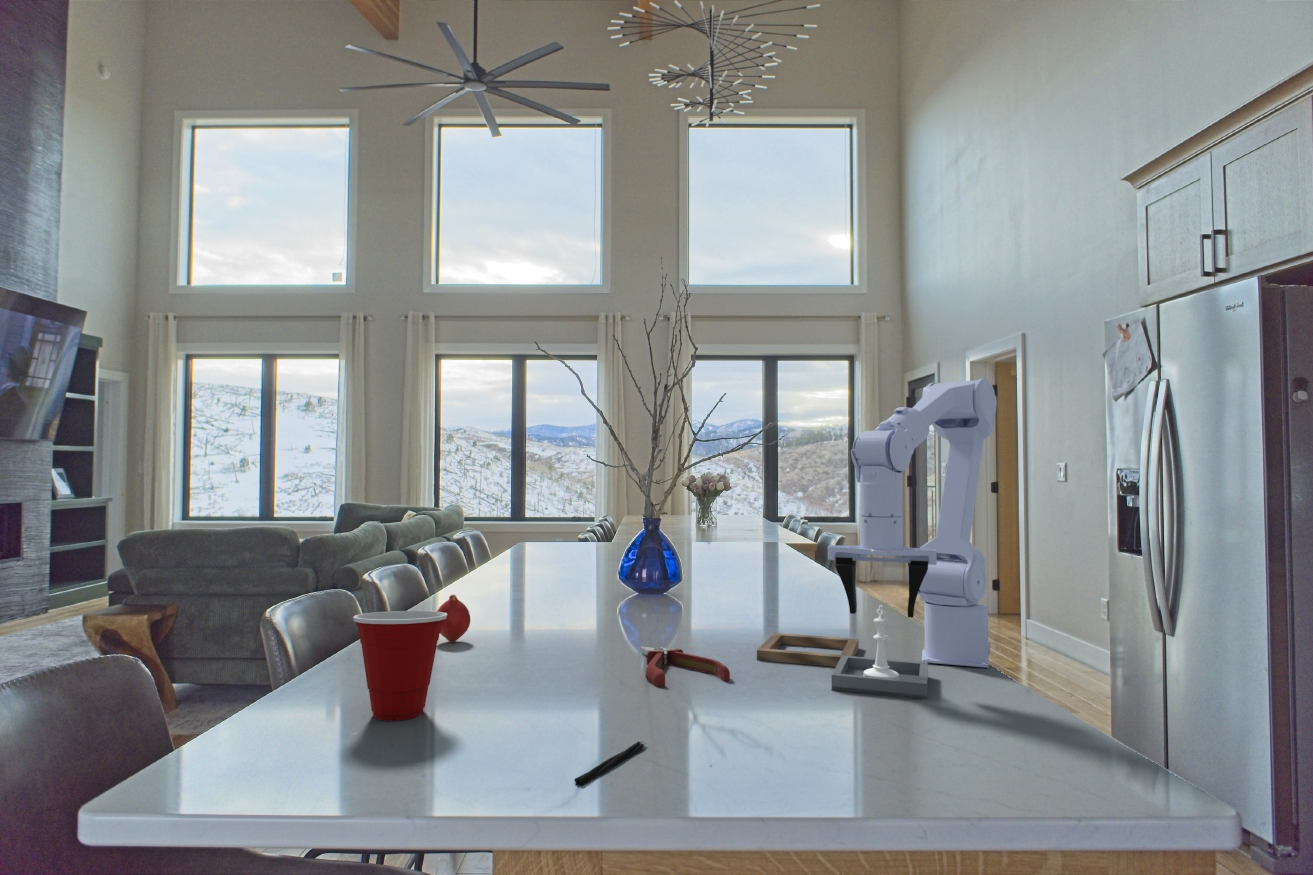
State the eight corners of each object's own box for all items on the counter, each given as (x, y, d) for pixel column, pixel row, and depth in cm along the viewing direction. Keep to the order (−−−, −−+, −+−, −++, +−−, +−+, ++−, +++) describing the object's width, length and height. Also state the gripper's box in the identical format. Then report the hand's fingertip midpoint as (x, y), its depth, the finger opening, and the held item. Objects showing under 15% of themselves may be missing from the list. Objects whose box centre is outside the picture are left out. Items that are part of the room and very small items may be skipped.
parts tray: (927, 676, 113) (927, 662, 113) (926, 699, 102) (926, 683, 102) (841, 668, 117) (841, 655, 117) (831, 689, 106) (831, 674, 106)
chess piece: (887, 672, 113) (887, 602, 114) (906, 681, 109) (906, 608, 109) (856, 674, 112) (856, 603, 113) (874, 683, 107) (874, 609, 108)
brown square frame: (858, 648, 131) (858, 639, 131) (849, 668, 118) (849, 657, 118) (774, 641, 136) (774, 632, 136) (756, 659, 123) (756, 649, 123)
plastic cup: (453, 699, 100) (455, 603, 101) (436, 727, 90) (438, 619, 90) (365, 700, 99) (367, 603, 100) (337, 728, 89) (340, 620, 89)
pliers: (682, 652, 129) (682, 636, 129) (733, 685, 110) (733, 666, 110) (614, 657, 126) (614, 641, 126) (655, 692, 107) (655, 672, 107)
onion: (434, 639, 135) (434, 592, 136) (468, 637, 137) (469, 590, 137) (435, 646, 130) (435, 597, 130) (471, 644, 131) (471, 596, 132)
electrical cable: (639, 747, 84) (640, 738, 84) (648, 749, 84) (648, 739, 84) (573, 787, 74) (573, 776, 74) (582, 789, 73) (582, 778, 73)
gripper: (824, 516, 110) (824, 615, 109) (936, 519, 105) (936, 623, 104) (831, 513, 116) (831, 607, 116) (936, 516, 111) (937, 614, 111)
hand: (881, 614), depth 110 cm, fingers open, 7 cm apart
